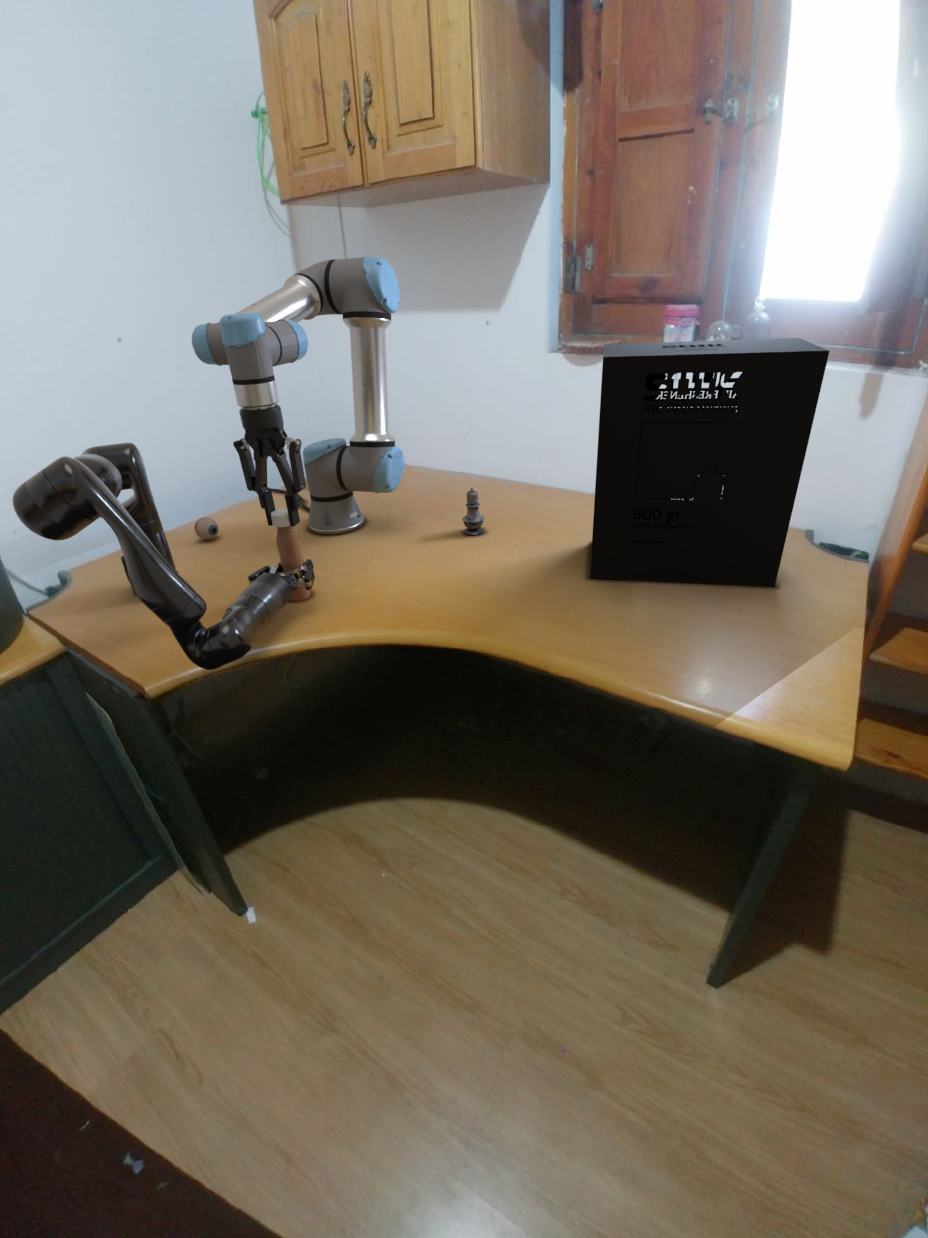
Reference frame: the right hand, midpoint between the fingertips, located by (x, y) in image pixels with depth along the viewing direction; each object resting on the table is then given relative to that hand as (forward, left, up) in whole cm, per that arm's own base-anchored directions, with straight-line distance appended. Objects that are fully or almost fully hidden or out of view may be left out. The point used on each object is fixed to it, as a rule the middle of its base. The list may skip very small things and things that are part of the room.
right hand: (284, 523), depth 124 cm
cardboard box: (+44, +73, -17) cm, 87 cm away
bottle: (0, 0, -17) cm, 17 cm away
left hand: (-2, +2, -10) cm, 11 cm away
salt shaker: (-3, +51, -17) cm, 54 cm away
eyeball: (-49, -5, -17) cm, 52 cm away
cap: (0, 0, +2) cm, 2 cm away
